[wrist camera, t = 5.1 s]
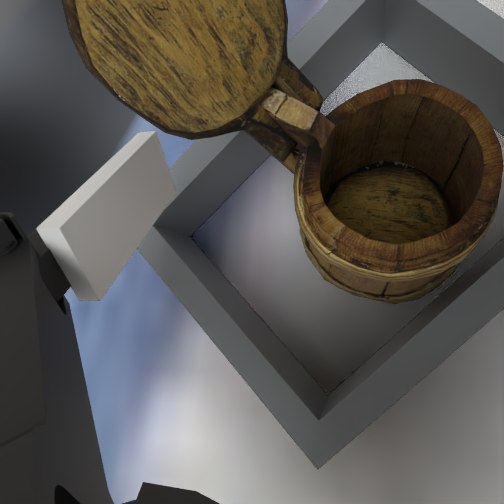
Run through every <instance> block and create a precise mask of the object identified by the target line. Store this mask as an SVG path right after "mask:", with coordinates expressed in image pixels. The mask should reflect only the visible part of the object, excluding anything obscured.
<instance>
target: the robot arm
mask: <svg viewBox="0 0 504 504" xmlns="http://www.w3.org/2000/svg"><path fill="white" fill-rule="evenodd" d="M175 193H176V190H175V187H174V184H173V181H172V178H171V175H170V172H169V169H168V166H167V162H166V159H165V156H164V153H163V150H162V147H161V144H160V141H159V138H158V135H157V132H156V131H149V132H139V133H138V134H137V135H136V136H135V137H134V138H133V139H131V140H130V141H129V142H128V143H127V144H126V145H125V146H124V147H123V148H122V149H121V150H120V151H119V152H118V153H116V154H115V155H114V156H113V157H112V158H111V159H110V160H109V161H108V162H107V163H106V164H105V165H104V166H103V167H101V168H100V169H99V170H98V171H97V172H96V173H95V174H94V175H93V176H92V177H91V178H90V179H89V180H88V181H87V182H85V183H84V184H83V185H82V186H81V187H80V188H79V189H78V190H77V191H76V192H75V193H74V194H73V195H71V196H70V197H69V198H68V199H67V200H66V201H65V202H64V203H63V204H62V205H61V206H60V207H58V208H57V210H55V211H54V212H53V213H52V214H51V215H50V216H49V217H48V218H47V219H46V220H44V221H43V222H42V223H41V224H40V225H39V226H38V227H37V228H36V229H35V230H34V231H33V232H32V233H31V234H30V235H28V236H26V234H25V233H24V231H23V229H22V228H21V226H20V225H19V223H18V221H17V220H16V218H15V216H14V215H13V213H9V212H2V213H0V504H114V503H113V501H112V498H111V496H110V493H109V490H108V487H107V482H106V477H105V473H104V468H103V463H102V458H101V453H100V449H99V444H98V439H97V434H96V430H95V425H94V420H93V415H92V410H91V406H90V401H89V396H88V391H87V386H86V382H85V377H84V372H83V367H82V363H81V358H80V353H79V348H78V343H77V339H76V334H75V329H74V324H73V319H72V315H71V310H70V305H69V303H68V301H67V299H66V298H65V296H64V294H65V293H66V292H67V290H68V289H69V288H70V287H71V288H72V289H73V291H74V293H75V294H76V296H77V298H78V299H79V301H101V299H102V298H103V296H104V295H105V294H106V292H107V291H108V289H109V288H110V286H111V285H112V284H113V282H114V281H115V279H116V278H117V276H118V275H119V273H120V272H121V271H122V269H123V268H124V266H125V265H126V263H127V262H128V261H129V259H130V258H131V256H132V255H133V253H134V252H135V250H136V249H137V248H138V246H139V245H140V243H141V242H142V240H143V239H144V237H145V236H146V235H147V233H148V232H149V230H150V229H151V227H152V226H153V225H154V223H155V222H156V220H157V219H158V217H159V216H160V214H161V213H162V212H163V210H164V209H165V207H166V206H167V204H168V203H169V202H170V200H171V199H172V197H173V196H174V194H175ZM123 504H219V503H217V502H215V501H214V500H212V499H210V498H208V497H206V496H204V495H202V494H200V493H198V492H197V491H191V490H185V489H180V488H174V487H168V486H162V485H156V484H151V483H145V482H143V484H142V487H141V489H140V492H139V494H138V497H137V499H136V500H133V501H130V502H126V503H123Z"/></svg>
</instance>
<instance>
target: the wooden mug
mask: <svg viewBox="0 0 504 504" xmlns="http://www.w3.org/2000/svg"><path fill="white" fill-rule="evenodd" d="M62 4H63V8H64V12H65V17H66V21H67V25H68V30H69V34H70V36H71V38H72V40H73V42H74V44H75V46H76V48H77V50H78V53H79V55H80V56H81V59H82V61H83V63H84V65H85V67H86V68H87V69H88V70H89V71H90V72H91V74H92V75H93V76H94V77H95V78H96V79H97V80H98V81H99V82H100V83H101V84H102V85H103V86H104V87H105V88H106V89H107V90H108V91H109V92H110V93H111V94H112V95H113V96H114V97H115V98H116V99H117V100H118V101H120V102H121V103H123V104H124V105H125V106H127V107H128V108H130V109H131V110H133V111H134V112H135V113H137V114H138V115H139V116H141V117H142V118H144V119H145V120H147V121H148V122H150V123H151V124H153V125H154V126H156V127H157V128H159V129H160V130H162V131H163V132H165V133H168V134H171V135H175V136H179V137H183V138H187V139H190V140H194V139H203V138H212V137H216V136H220V135H224V134H228V133H232V132H237V131H242V130H243V131H245V132H246V133H247V134H248V135H249V136H251V137H252V138H253V139H254V140H255V141H256V142H258V143H259V144H260V145H261V146H262V147H263V148H264V149H265V150H266V151H268V152H269V153H270V154H271V155H272V156H274V157H275V158H276V159H277V160H278V161H279V162H281V163H282V164H283V165H284V166H285V167H286V168H288V169H289V170H290V171H291V172H292V173H293V174H294V186H293V187H294V201H295V211H296V214H297V218H298V222H299V225H300V234H301V238H302V241H303V244H304V248H305V251H306V254H307V256H308V257H309V259H310V260H311V261H312V263H313V264H314V266H315V267H316V268H317V270H318V271H319V273H320V274H321V275H322V277H323V278H324V279H325V280H326V281H328V282H330V283H332V284H334V285H335V286H337V287H339V288H341V289H343V290H345V291H347V292H349V293H352V294H354V295H357V296H361V297H365V298H369V299H373V300H378V301H383V302H388V303H393V304H396V303H401V302H405V301H410V300H415V299H419V298H421V297H422V296H424V295H425V294H427V293H429V292H430V291H432V290H433V289H435V288H436V287H438V286H439V285H440V284H441V283H442V282H443V281H445V280H446V279H447V278H448V277H449V276H450V275H451V274H452V273H453V272H454V270H455V269H456V267H457V266H458V264H459V262H461V261H463V260H464V259H465V258H466V257H467V256H468V254H469V253H470V252H471V251H472V250H473V249H474V248H475V246H476V245H477V244H478V243H479V242H480V241H481V240H482V238H483V237H484V235H485V234H486V232H487V230H488V228H489V226H490V223H491V221H492V220H493V218H494V215H495V213H496V210H497V205H498V199H499V193H500V189H501V178H502V172H503V159H502V151H501V145H500V143H499V141H498V138H497V136H496V134H495V132H494V130H493V128H492V125H491V124H490V123H489V121H488V120H487V118H486V117H485V116H484V114H483V113H482V112H481V110H480V109H479V108H478V106H477V105H475V104H474V103H472V102H471V101H469V100H468V99H466V98H465V97H463V96H462V95H460V94H458V93H456V92H454V91H452V90H450V89H448V88H446V87H444V86H442V85H438V84H435V83H432V82H428V81H425V80H421V79H411V80H393V81H391V82H388V83H385V84H383V85H380V86H377V87H375V88H372V89H369V90H367V91H364V92H362V93H359V94H357V95H355V96H354V97H352V98H351V99H349V100H347V101H346V102H344V103H343V104H341V105H340V106H338V107H337V108H335V109H334V110H333V111H332V112H330V113H329V114H328V115H327V116H324V115H323V114H322V113H320V109H321V106H322V103H323V100H324V99H323V98H322V96H321V94H320V93H319V91H318V90H317V88H316V87H315V86H314V85H313V84H312V83H311V82H310V81H309V80H308V79H307V78H306V77H305V75H304V74H303V73H302V72H301V71H300V70H299V69H298V68H297V67H296V66H295V65H294V64H293V63H292V61H291V60H290V59H289V58H288V53H287V28H288V17H287V10H286V4H285V0H62Z"/></svg>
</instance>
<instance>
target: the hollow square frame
mask: <svg viewBox="0 0 504 504" xmlns="http://www.w3.org/2000/svg"><path fill="white" fill-rule="evenodd" d="M381 42H383V43H384V44H386V45H387V46H388V47H389V48H391V49H392V50H393V51H395V52H396V53H397V54H398V55H400V56H401V57H402V58H404V59H405V60H406V61H408V62H409V63H410V64H411V65H413V66H414V67H415V68H417V69H418V70H419V71H420V72H422V73H423V74H424V75H426V76H427V77H428V78H430V79H431V80H432V81H433V82H435V83H436V84H438V85H442V86H444V87H446V88H448V89H450V90H452V91H454V92H456V93H458V94H460V95H462V96H463V97H465V98H466V99H468V100H469V101H471V102H472V103H474V104H475V105H477V106H478V108H479V109H480V110H481V112H482V113H483V114H484V116H485V117H486V118H487V120H488V121H489V123H490V124H491V125H492V127H493V128H494V129H496V130H497V131H498V132H499V133H501V134H502V135H503V136H504V19H503V18H501V17H500V16H498V15H497V14H495V13H494V12H492V11H491V10H489V9H488V8H486V7H485V6H484V5H482V4H481V3H479V2H478V1H476V0H329V1H328V2H327V3H326V4H325V5H324V6H323V7H322V8H321V9H320V10H319V11H318V12H317V13H316V14H315V15H314V16H313V17H312V19H311V20H310V21H309V22H308V23H307V24H306V25H305V26H304V27H303V28H302V29H301V30H300V31H299V32H298V33H297V34H296V35H295V37H294V38H293V39H292V40H291V41H290V42H289V43H288V44H287V53H288V58H289V59H290V60H291V61H292V63H293V64H294V65H295V66H296V67H297V68H298V69H299V70H300V71H301V72H302V73H303V74H304V75H305V77H306V78H307V79H308V80H309V81H310V82H311V83H312V84H313V85H314V86H315V87H316V88H317V90H318V91H319V93H320V94H321V96H322V98H323V99H324V100H325V99H326V98H327V97H328V96H329V95H330V94H331V93H332V92H333V91H334V90H335V89H336V88H337V87H338V86H339V85H340V84H341V83H342V82H343V80H344V79H345V78H346V77H347V76H348V75H349V74H350V73H351V72H352V71H353V70H354V69H355V68H356V67H357V66H358V65H359V64H360V63H361V62H362V61H363V60H364V59H365V58H366V57H367V56H368V55H369V54H370V53H371V52H372V51H373V50H374V49H375V48H376V47H377V46H378V45H379V44H380V43H381ZM324 100H323V101H324ZM270 155H271V154H270V153H269V152H268V151H266V150H265V149H264V148H263V147H262V146H261V145H260V144H259V143H258V142H256V141H255V140H254V139H253V138H252V137H251V136H249V135H248V134H247V133H246V132H245V131H243V130H242V131H237V132H232V133H228V134H224V135H220V136H216V137H212V138H203V139H197V140H196V141H195V142H194V143H193V144H192V145H191V146H190V148H189V149H188V150H187V151H186V152H185V153H184V154H183V155H182V156H181V157H180V158H179V159H178V160H177V161H176V162H175V163H174V164H173V165H172V167H171V168H170V169H169V172H170V175H171V178H172V181H173V184H174V187H175V190H176V193H175V194H174V196H173V197H172V199H171V200H170V202H169V203H168V204H167V206H166V207H165V209H164V210H163V212H162V213H161V214H160V216H159V217H158V219H157V220H156V222H155V223H154V225H153V226H152V227H151V229H150V230H149V232H148V233H147V235H146V236H145V237H144V239H143V240H142V242H141V243H140V245H139V246H138V248H137V249H138V250H139V252H140V253H141V254H142V255H143V257H144V258H145V259H146V260H147V261H148V263H149V264H150V265H151V266H152V268H153V269H154V270H155V271H156V272H157V274H158V275H159V276H160V277H161V279H162V280H163V281H164V282H165V283H166V285H167V286H168V287H169V288H170V290H171V291H172V292H173V293H174V294H175V296H176V297H177V298H178V299H179V301H180V302H181V303H182V304H183V305H184V307H185V308H186V309H187V310H188V312H189V313H190V314H191V315H192V316H193V318H194V319H195V320H196V321H197V323H198V324H199V325H200V326H201V327H202V329H203V330H204V331H205V332H206V334H207V335H208V336H209V337H210V339H211V340H212V341H213V342H214V343H215V345H216V346H217V347H218V348H219V350H220V351H221V352H222V353H223V354H224V356H225V357H226V358H227V359H228V361H229V362H230V363H231V364H232V365H233V367H234V368H235V369H236V370H237V372H238V373H239V374H240V375H241V376H242V378H243V379H244V380H245V381H246V383H247V384H248V385H249V386H250V387H251V389H252V390H253V391H254V392H255V394H256V395H257V396H258V397H259V398H260V400H261V401H262V402H263V403H264V405H265V406H266V407H267V408H268V409H269V411H270V412H271V413H272V414H273V416H274V417H275V418H276V419H277V420H278V422H279V423H280V424H281V425H282V427H283V428H284V429H285V430H286V431H287V433H288V434H289V435H290V436H291V438H292V439H293V440H294V441H295V442H296V444H297V445H298V446H299V447H300V449H301V450H302V451H303V452H304V453H305V455H306V456H307V457H308V458H309V460H310V461H311V462H312V463H313V465H314V466H315V467H316V468H317V469H319V468H320V467H322V466H323V465H324V464H325V463H326V462H327V461H328V460H330V459H331V458H332V457H333V456H334V455H335V454H337V453H338V452H339V451H340V450H341V449H342V448H343V447H345V446H346V445H347V444H348V443H349V442H350V441H352V440H353V439H354V438H355V437H356V436H357V435H358V434H360V433H361V432H362V431H363V430H364V429H365V428H367V427H368V426H369V425H370V424H371V423H372V422H373V421H375V420H376V419H377V418H378V417H379V416H380V415H382V414H383V413H384V412H385V411H386V410H387V409H388V408H390V407H391V406H392V405H393V404H394V403H395V402H397V401H398V400H399V399H400V398H401V397H402V396H403V395H405V394H406V393H407V392H408V391H409V390H410V389H411V388H413V387H414V386H415V385H416V384H417V383H418V382H420V381H421V380H422V379H423V378H424V377H425V376H426V375H428V374H429V373H430V372H431V371H432V370H433V369H435V368H436V367H437V366H438V365H439V364H440V363H441V362H443V361H444V360H445V359H446V358H447V357H448V356H450V355H451V354H452V353H453V352H454V351H455V350H456V349H458V348H459V347H460V346H461V345H462V344H463V343H465V342H466V341H467V340H468V339H469V338H470V337H471V336H473V335H474V334H475V333H476V332H477V331H478V330H480V329H481V328H482V327H483V326H484V325H485V324H486V323H488V322H489V321H490V320H491V319H492V318H493V317H494V316H496V315H497V314H498V313H499V312H500V311H501V310H503V309H504V238H503V239H502V240H501V241H500V242H499V243H498V244H496V245H495V246H494V247H493V248H492V249H491V250H490V251H489V252H488V253H486V254H485V255H484V256H483V257H482V258H481V259H480V260H479V261H477V262H476V263H475V264H474V265H473V266H472V267H471V268H470V269H469V270H467V271H466V272H465V273H464V274H463V275H462V276H461V277H460V278H458V279H457V280H456V281H455V282H454V283H453V284H452V285H451V286H450V287H448V288H447V289H446V290H445V291H444V292H443V293H442V294H441V295H439V296H438V297H437V298H436V299H435V300H434V301H433V302H432V303H431V304H429V305H428V306H427V307H426V308H425V309H424V310H423V311H422V312H420V313H419V314H418V315H417V316H416V317H415V318H414V319H413V320H412V321H410V322H409V323H408V324H407V325H406V326H405V327H404V328H403V329H401V330H400V331H399V332H398V333H397V334H396V335H395V336H394V337H393V338H391V339H390V340H389V341H388V342H387V343H386V344H385V345H384V346H382V347H381V348H380V349H379V350H378V351H377V352H376V353H375V354H374V355H372V356H371V357H370V358H369V359H368V360H367V361H366V362H365V363H363V364H362V365H361V366H360V367H359V368H358V369H357V370H356V371H355V372H353V373H352V374H351V375H350V376H349V377H348V378H347V379H346V380H344V381H343V382H342V383H341V384H340V385H339V386H338V387H337V388H336V389H334V390H333V391H332V392H331V393H330V394H329V395H328V394H327V393H326V392H325V391H324V390H323V389H322V387H321V386H320V385H319V384H318V383H317V382H316V381H315V379H314V378H313V377H312V376H311V375H310V374H309V373H308V371H307V370H306V369H305V368H304V367H303V366H302V365H301V363H300V362H299V361H298V360H297V359H296V358H295V357H294V355H293V354H292V353H291V352H290V351H289V350H288V349H287V347H286V346H285V345H284V344H283V343H282V342H281V341H280V339H279V338H278V337H277V336H276V335H275V334H274V333H273V331H272V330H271V329H270V328H269V327H268V326H267V325H266V323H265V322H264V321H263V320H262V319H261V318H260V317H259V315H258V314H257V313H256V312H255V311H254V310H253V309H252V307H251V306H250V305H249V304H248V303H247V302H246V301H245V299H244V298H243V297H242V296H241V295H240V294H239V293H238V291H237V290H236V289H235V288H234V287H233V286H232V285H231V284H230V282H229V281H228V280H227V279H226V278H225V277H224V276H223V274H222V273H221V272H220V271H219V270H218V269H217V268H216V266H215V265H214V264H213V263H212V262H211V261H210V260H209V258H208V257H207V256H206V255H205V254H204V253H203V252H202V250H201V249H200V248H199V247H198V246H197V245H196V244H195V242H194V241H193V240H192V239H191V238H190V236H191V235H192V234H193V233H194V232H195V231H196V230H197V229H198V228H199V227H200V226H201V225H202V224H203V223H204V222H205V221H206V220H207V219H208V218H209V217H210V216H211V215H212V214H213V213H214V212H215V211H216V210H217V209H218V208H219V207H220V206H221V205H222V204H223V203H224V202H225V201H226V200H227V199H228V198H229V197H230V196H231V195H232V193H233V192H234V191H235V190H236V189H237V188H238V187H239V186H240V185H241V184H242V183H243V182H244V181H245V180H246V179H247V178H248V177H249V176H250V175H251V174H252V173H253V172H254V171H255V170H256V169H257V168H258V167H259V166H260V165H261V164H262V163H263V162H264V161H265V160H266V159H267V158H268V157H269V156H270Z"/></svg>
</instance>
